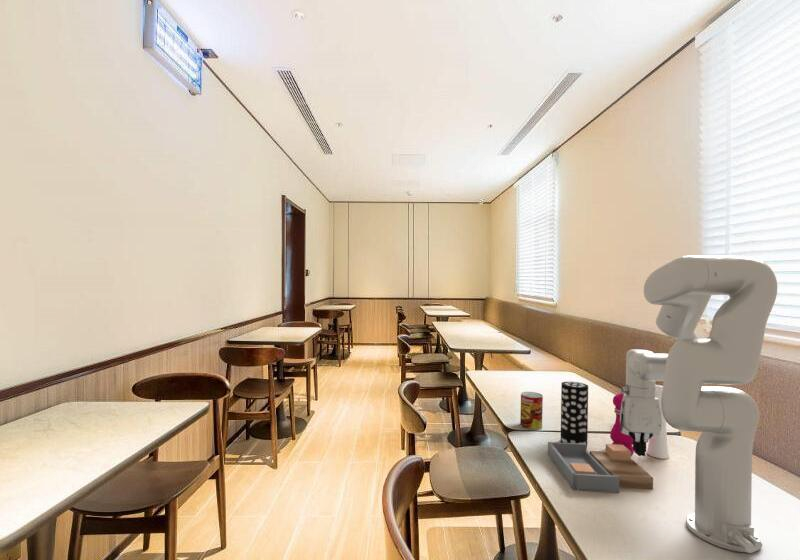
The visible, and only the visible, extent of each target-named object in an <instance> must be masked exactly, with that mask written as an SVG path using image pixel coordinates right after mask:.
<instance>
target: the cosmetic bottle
mask: <svg viewBox="0 0 800 560" xmlns="http://www.w3.org/2000/svg"><path fill="white" fill-rule="evenodd" d="M662 389H663V385H660V384H655V397H656V398H658V399H659V403H660V409H661V397H662ZM661 417H662V431H661V432H660V435H657V436H652V437H651V438H650V439H649V440H648V446H647V448H646V453H647V455H649V456H651V457H653V458H657V459H661V460H662V459H663V460H667V459H669V458H670V452H669V445H668V435H667V430H668V429H667V422H666V420H665V419H664V416H663V414H662V409H661Z"/></svg>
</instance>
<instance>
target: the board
mask: <svg viewBox="0 0 800 560" xmlns="http://www.w3.org/2000/svg"><path fill="white" fill-rule="evenodd" d="M589 453H590V454H591V455H592V456H593V457H594V458H595V459H596V460H597V461H598V462H599V463H600V464H601V465H602V466H603V467H604V468H605V469H606V470H607V471H608V472H609V473H610V474H611V475H615V476H619V477H620V478H619V488H627V489H629V488H631V489H645V490H647V489H648V490H653V489H654V477H653V476H652V475H651V474H650V473H649V472H648V471H646V470H645V469H644V468H643V467H641V466H640V465H639V464H638V463H637V462H635V460H633V459H632V458H631V460H616V459H612V458H611V457H610V456H609V455H608V454H607V453H606V451H601V450H599V451H597V450H589Z"/></svg>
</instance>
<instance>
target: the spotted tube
mask: <svg viewBox="0 0 800 560" xmlns="http://www.w3.org/2000/svg"><path fill="white" fill-rule="evenodd" d="M560 387H561V388H560V389H561V393H560V395H561V396H560V398H561V399H560V403H561V404H560V443H581V444H587V445H588V437H589V436H588V435H589V434H588V430H589V429H588V426H589V385H588V384H586V383H583V382H579V381H563V382H561V386H560Z"/></svg>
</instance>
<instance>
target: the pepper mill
mask: <svg viewBox="0 0 800 560" xmlns="http://www.w3.org/2000/svg"><path fill="white" fill-rule="evenodd" d="M619 392H620V393H617V394H615V395H614V396H613V398H612V403H613V405H614V413H615V421H614V424H613V425H612V428H611V430H610V434H609V437H610V439H611V441H612V443H611V444H617V445H624V446H625V447H626V448H627V449H629V450H630V451H631V455H634V454H635V452H634V450H633V439H632V438H631V437H630V436H629V435H626V434H623V433H622V432H620V429H621V425H620V411H621V404H622V399H623V396H624V394H626V393H625V392H622V391H621V390H620V391H619Z"/></svg>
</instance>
